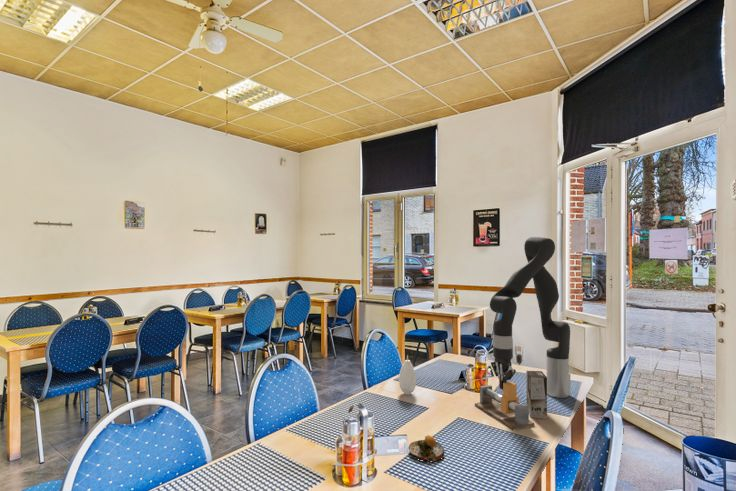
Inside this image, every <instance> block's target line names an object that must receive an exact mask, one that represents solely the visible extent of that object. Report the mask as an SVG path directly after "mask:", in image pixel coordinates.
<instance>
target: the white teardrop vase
mask: <svg viewBox="0 0 736 491" xmlns="http://www.w3.org/2000/svg"><path fill="white" fill-rule="evenodd" d="M398 384H399V388H400V390H401V392H402V393H403V394H404V395H407V396H408V395H411V394H413V392H414V391H415V389H416V385H417V376H416V372H415V368H414V366H413V364H412V363H411V360H410V359H409V355H408V354H407V356H406V359H405V360H404V363H403V364H402V365H401V368H400V370H399V374H398Z"/></svg>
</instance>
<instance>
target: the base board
mask: <svg viewBox="0 0 736 491" xmlns="http://www.w3.org/2000/svg"><path fill="white" fill-rule="evenodd" d="M474 407H476V408H478V409H479V410H481V411H483V412H484V413H485V414H487V415H489V416H490V417H492V418H494V419H495V420H497V421H498V422H500V423H501V424H502V425H505V426H506V427H508V428H509V429H511V430H512V431H513V430H518V429H524V428H529V427H534V426H535V422H534V421H532V420H530V419H529V424H525V425H520V426H517V425H516V424H515V413H510V414H505V413H503V412H501V403H499V402H498V401H496V400H494V399H492V403H486V404H481V403H480V402H475V403H474Z"/></svg>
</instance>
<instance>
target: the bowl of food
mask: <svg viewBox="0 0 736 491" xmlns="http://www.w3.org/2000/svg"><path fill="white" fill-rule="evenodd" d="M434 435H435V434H433V436H432V435H425V436H424V439H421V440H419V439H418V440H415V441H412V442H411V443H410V444H409V445H408V450H409V452H410V454H411V455H412V456H415V457H416V460H417V459H419V460H424V461H425V460H426V461H427V462H428V461H435V462H436V461H438V460H440V459H441V458H444V457H445V448H444V446H443V445H442V444H440V443H439V442H437V441H436V439H435V438H434ZM443 456H444V457H443ZM419 460H418V461H419ZM441 460H442V459H441Z"/></svg>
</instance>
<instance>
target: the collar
mask: <svg viewBox="0 0 736 491" xmlns="http://www.w3.org/2000/svg"><path fill="white" fill-rule="evenodd" d="M517 387H518V385H517V383H515V382H512V381H507V383H503V390H502V396H501V403H500V404H501V412H503V413H505V414H510V413H515V411H513V410H512V409H509V408H508V401H514V402H515V403H517V404H519V405H520V401H519V400H520V397H519V396H518V395H517V393H518V392H517V390H518V389H517Z"/></svg>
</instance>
